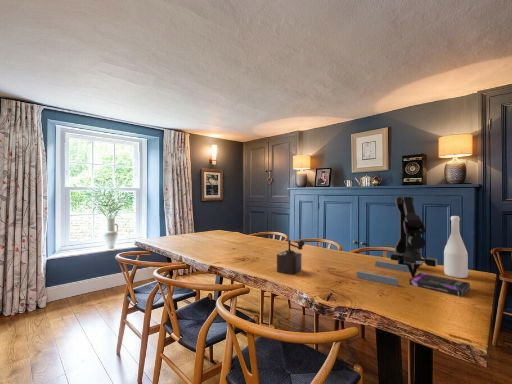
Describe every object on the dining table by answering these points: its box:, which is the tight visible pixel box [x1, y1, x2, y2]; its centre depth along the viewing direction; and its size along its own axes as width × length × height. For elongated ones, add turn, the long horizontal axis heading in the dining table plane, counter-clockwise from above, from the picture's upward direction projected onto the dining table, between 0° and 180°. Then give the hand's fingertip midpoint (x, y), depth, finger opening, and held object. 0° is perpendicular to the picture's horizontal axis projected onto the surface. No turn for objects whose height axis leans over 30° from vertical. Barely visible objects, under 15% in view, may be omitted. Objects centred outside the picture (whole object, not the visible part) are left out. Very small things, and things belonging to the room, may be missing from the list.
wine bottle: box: [443, 215, 469, 279], centre depth 132 cm, size 10×10×30 cm
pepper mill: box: [276, 239, 305, 275], centre depth 139 cm, size 16×11×18 cm
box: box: [408, 272, 471, 298], centre depth 116 cm, size 14×4×20 cm
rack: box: [356, 260, 410, 287], centre depth 134 cm, size 28×18×3 cm, turn 138°
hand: (413, 277), depth 125 cm, fingers closed
